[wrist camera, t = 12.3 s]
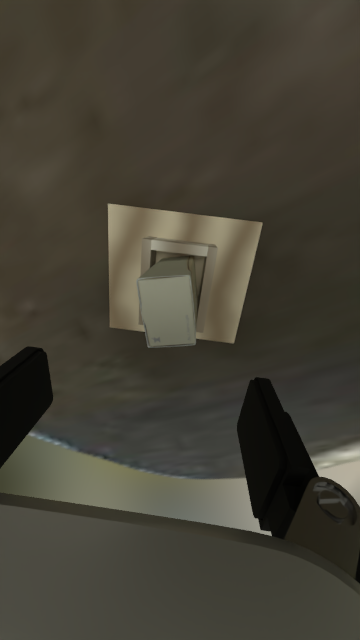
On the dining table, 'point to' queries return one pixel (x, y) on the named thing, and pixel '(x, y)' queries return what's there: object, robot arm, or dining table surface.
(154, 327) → the skincare box
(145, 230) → the socket stand
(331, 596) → the robot arm
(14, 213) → the dining table surface
